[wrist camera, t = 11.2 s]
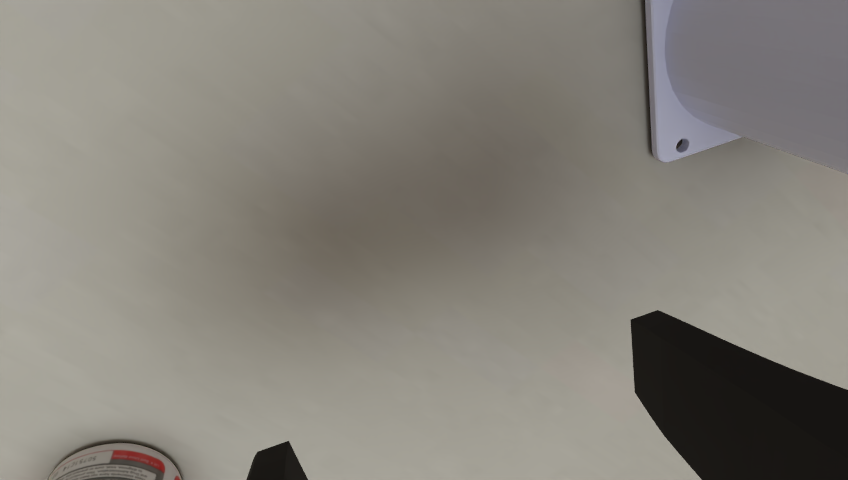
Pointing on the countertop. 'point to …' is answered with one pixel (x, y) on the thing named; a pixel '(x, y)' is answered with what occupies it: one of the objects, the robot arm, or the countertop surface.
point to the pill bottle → (116, 464)
